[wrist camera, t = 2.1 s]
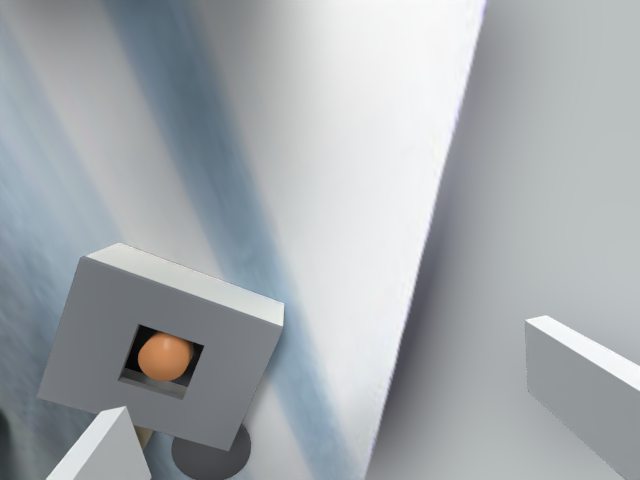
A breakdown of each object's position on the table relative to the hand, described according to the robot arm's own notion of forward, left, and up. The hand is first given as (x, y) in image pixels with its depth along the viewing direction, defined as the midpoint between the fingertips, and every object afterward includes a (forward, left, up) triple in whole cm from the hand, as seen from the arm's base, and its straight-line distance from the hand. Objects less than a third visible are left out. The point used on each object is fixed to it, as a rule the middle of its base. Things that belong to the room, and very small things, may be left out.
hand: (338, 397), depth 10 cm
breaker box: (-8, -14, -24) cm, 29 cm away
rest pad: (0, -27, -24) cm, 36 cm away
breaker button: (-8, -14, -20) cm, 26 cm away
